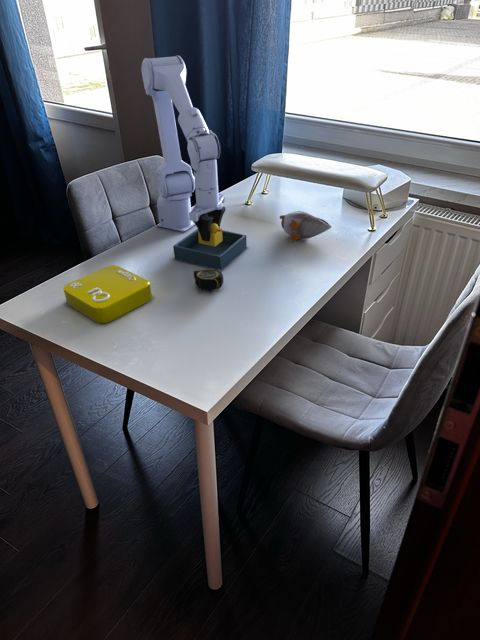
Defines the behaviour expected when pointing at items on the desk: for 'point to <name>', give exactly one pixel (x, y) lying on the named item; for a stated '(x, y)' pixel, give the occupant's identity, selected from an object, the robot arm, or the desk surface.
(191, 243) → the blue square tray
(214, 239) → the rubber duck
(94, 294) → the element tile
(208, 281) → the tape measure
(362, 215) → the desk surface
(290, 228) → the decorative duck model
